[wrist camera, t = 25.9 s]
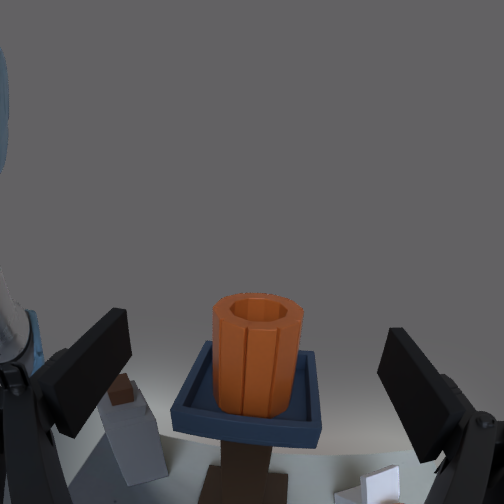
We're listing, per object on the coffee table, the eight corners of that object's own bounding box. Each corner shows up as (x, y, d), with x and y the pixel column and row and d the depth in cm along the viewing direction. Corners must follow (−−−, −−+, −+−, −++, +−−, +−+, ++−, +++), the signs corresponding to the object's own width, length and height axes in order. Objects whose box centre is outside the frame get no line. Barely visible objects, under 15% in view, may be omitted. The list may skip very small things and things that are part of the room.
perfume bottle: (168, 475, 35) (151, 393, 31) (128, 486, 31) (96, 404, 27) (152, 447, 40) (135, 363, 36) (115, 456, 36) (87, 371, 32)
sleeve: (266, 432, 21) (278, 340, 19) (197, 398, 25) (194, 310, 23) (303, 389, 27) (317, 306, 25) (241, 365, 31) (245, 286, 29)
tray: (191, 527, 26) (166, 410, 20) (209, 467, 38) (204, 338, 32) (282, 539, 25) (325, 430, 19) (287, 477, 36) (315, 350, 31)
